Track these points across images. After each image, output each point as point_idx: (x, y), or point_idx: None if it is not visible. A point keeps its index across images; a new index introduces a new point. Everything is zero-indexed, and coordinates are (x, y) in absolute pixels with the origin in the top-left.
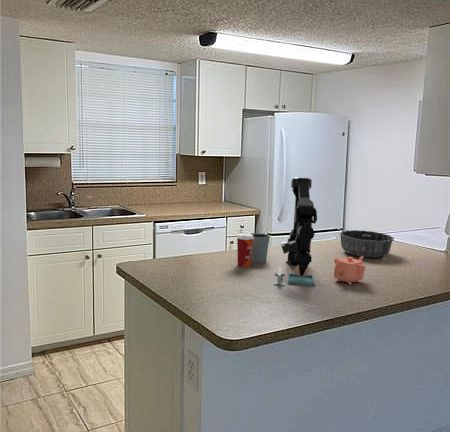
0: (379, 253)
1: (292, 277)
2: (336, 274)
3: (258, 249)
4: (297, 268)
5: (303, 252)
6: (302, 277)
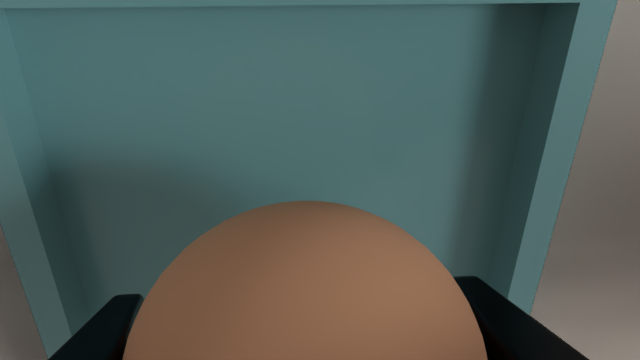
0: None
1: (428, 56)
2: None
3: None
4: (171, 355)
5: None
6: (454, 239)
